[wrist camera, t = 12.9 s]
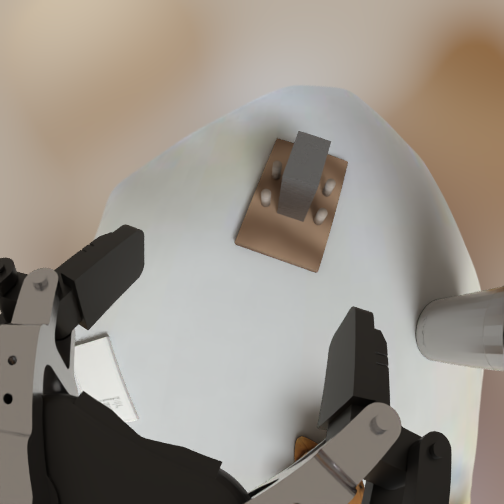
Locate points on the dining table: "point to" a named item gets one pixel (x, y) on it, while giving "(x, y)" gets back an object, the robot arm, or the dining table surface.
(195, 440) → the dining table surface
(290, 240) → the wooden peg stand
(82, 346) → the external hard drive
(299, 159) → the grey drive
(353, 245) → the dining table surface
